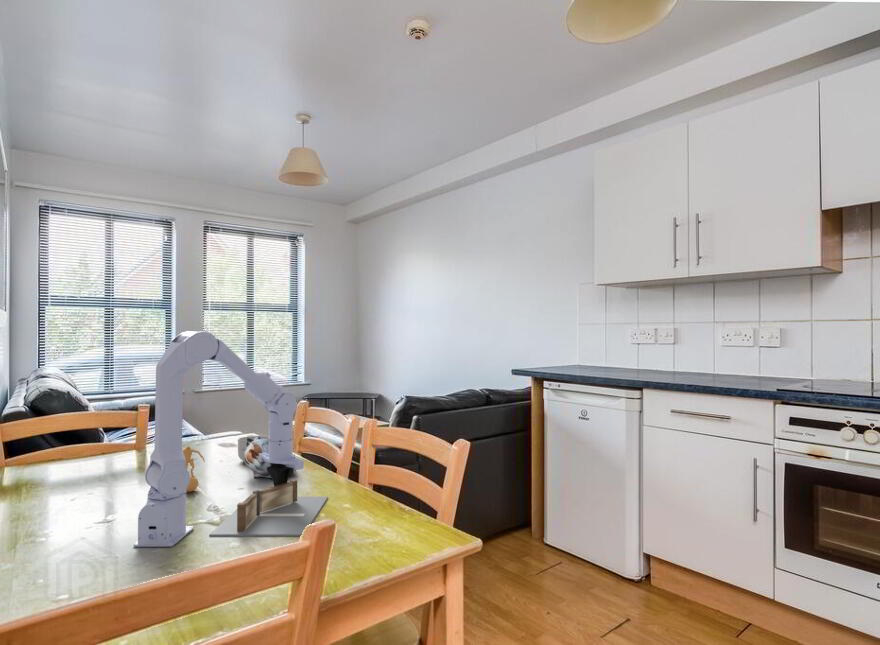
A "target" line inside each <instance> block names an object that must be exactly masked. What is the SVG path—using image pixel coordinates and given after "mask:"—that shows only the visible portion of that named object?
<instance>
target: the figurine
mask: <svg viewBox="0 0 880 645" xmlns="http://www.w3.org/2000/svg"><path fill="white" fill-rule="evenodd" d="M182 450H183V453H184V456H185V459H186V469H187V470H188V467H189V466H191V468H190V483H189V486H188V487H187V489H186V493H191V492H193V491H195V490H197V489H198V486H199V479H197V477H195V475H194V472H193V471H194V470H195V469H194V468H195V467H196V466H195V463H194V458H192V455H193V453H196V454H198V455H199V457H200V458H202V460H203V462H204V463H205V462H206V461H205V458H204V456H203V455H202V454H201V452H200V451H198V450H196V449H193V448H191V446H190V445H188V446H186V447H184V448H182Z"/></svg>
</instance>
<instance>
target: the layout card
mask: <svg viewBox="0 0 880 645" xmlns="http://www.w3.org/2000/svg"><path fill="white" fill-rule="evenodd" d="M328 498H329V496H297V501H296V502H292V503H289V504H286V505H283V506H280V507H277V508H274V509H271V510H268V511H265V512H262V513H261V512H260V515H259V516H257V517H256V518H255V519H254V520H253V521H252V522H251V523H250V524H249V525H248V526H247V527H246V529H245V530H244V532H237V509H235V510H234V511H233V512H232V513H231V514H230V515H229V516H228V517H227V518H226V519H224V520H223V521H222V522H221V523H220V524H219V525H218V526H217V527H216V528H215V529H214V530H212V531H211V532H210V533H209V534H208V536H209V537H302V536H301V535H302V532H303V530H304V529H305V527H306V526H307V525H309V524H311V523H312V524H313V522H314V520H315V519H316V517H317V516H318V514H319V513H320V512H321V509H323V507H324V505H325V503H326V502H327V500H328ZM312 524H311V525H312Z"/></svg>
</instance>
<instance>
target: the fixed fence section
mask: <svg viewBox="0 0 880 645" xmlns="http://www.w3.org/2000/svg"><path fill="white" fill-rule="evenodd" d="M260 490H261V489H260ZM260 490H259V489H256V490H252V493H250V495H249V496H248V497H247V498H245V500H244V501H242V502H239V503H237V506H236V507H237V508H236V510H237V532H244V530H245V529H246V527H247V526H248V525H249V524H250V523H251V522H252V521H253V520H254V519H255V518H256V517H257V516H259V515H260Z"/></svg>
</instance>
